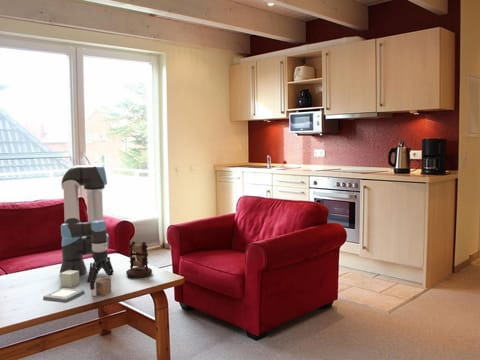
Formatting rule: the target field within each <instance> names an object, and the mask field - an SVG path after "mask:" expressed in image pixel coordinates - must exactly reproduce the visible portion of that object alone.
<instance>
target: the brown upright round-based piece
mask: <svg viewBox="0 0 480 360" xmlns="http://www.w3.org/2000/svg"><path fill="white" fill-rule="evenodd" d="M148 246H149V245H147V244H146V241H143V242H142V243H141V244H140V243H136V242H135V240H134V241H131V244H129V246H128V247H129V253H128V254H129V255H128V256H129V259H130V260H129V264H130V266H129V267H130V268H129V269H127V270H126V271H125V274H126V276H127V278H129V277H142V279H144V277H145V276H149V275H151V274H152V273H153V269H152V268H151V267H148V264H149V261H148V256H149V253H148Z"/></svg>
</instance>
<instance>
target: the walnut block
mask: <svg viewBox="0 0 480 360" xmlns="http://www.w3.org/2000/svg"><path fill="white" fill-rule="evenodd" d="M95 283H96V296H98V297H105V296H107V295H108V294H110V293H112V278H111V279H106V277H105V278H104V277H98V278H96V280H95Z"/></svg>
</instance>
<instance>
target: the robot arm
mask: <svg viewBox="0 0 480 360" xmlns="http://www.w3.org/2000/svg"><path fill="white" fill-rule="evenodd" d="M60 183H61V189H62V190H63V210H64V211H63V212H64V223H61V225H60V235H61V238H62V239H61V255H62V257H61V258H62V259H61V260H62V262H61V266H60V270H59V274H60V273H62V272H65V271H67V270H75V271H79V277H80V276H83V275H85V274H86V273H87V272H88V273H87V274H88V275H87V280H86V283H87V284H89V289H90V296H94V297H95V296H96V283H95V280H96V279H97V277H98V274H99V272H100V271H101V269H102V270H103V271H104V272H105V274H106V275H105V278H106V279H111V280H112V276H113V275H114V273H115V272H114V268H113V265H112V263H111V257H110V256H108V249H109V238H110V236H109V234H108V233H107V228H108V226H107V222H106V220H104V212H103V211H104V209H103V206H104V205H103V190H105V186H107V185H108V180H107V174H106V169H105V167H104V165H100V164H99V165H97V164H92V165H91V164H89V165H75V166H72V167H71V168H69V169H68V170H67V171H66V172H65V173H64V174H63V177H62V179H61V182H60ZM80 186H83V188H84V190H85V191H86V200H87V201H86V202H87V205H86V206H87V222H86V221H85V222H81V219H80V205H79V204H80V201H79V188H80ZM91 255H92V256H91ZM84 256H91V257H92V259H93V262H90V263H89V271H88V270H87V267H86V264H85V261H84Z"/></svg>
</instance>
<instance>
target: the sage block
mask: <svg viewBox="0 0 480 360" xmlns="http://www.w3.org/2000/svg"><path fill="white" fill-rule="evenodd" d="M59 278H60V279H59V280H60V287H70V288H71V287H74V286H76V285H79V284H80V276H79V271H75V270H67V271H65V272H62V273H60V272H59Z"/></svg>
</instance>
